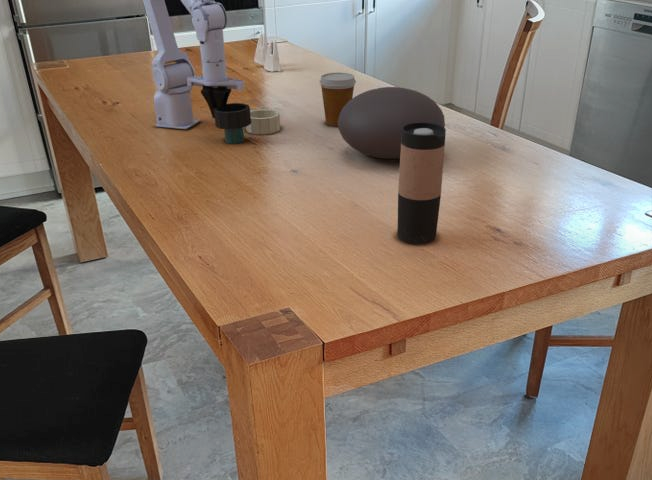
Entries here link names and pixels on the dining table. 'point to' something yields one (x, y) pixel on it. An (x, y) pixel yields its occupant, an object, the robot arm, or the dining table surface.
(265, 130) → the ivory ring
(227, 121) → the black ring
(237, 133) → the espresso cup
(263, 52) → the shaker set
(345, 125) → the smooth stone
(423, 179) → the travel mug
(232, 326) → the dining table surface
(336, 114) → the disposable coffee cup
